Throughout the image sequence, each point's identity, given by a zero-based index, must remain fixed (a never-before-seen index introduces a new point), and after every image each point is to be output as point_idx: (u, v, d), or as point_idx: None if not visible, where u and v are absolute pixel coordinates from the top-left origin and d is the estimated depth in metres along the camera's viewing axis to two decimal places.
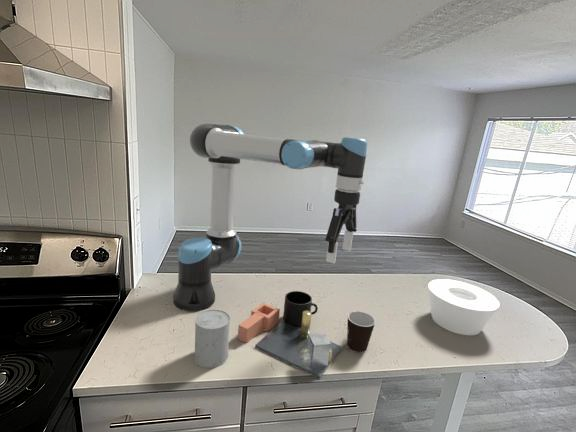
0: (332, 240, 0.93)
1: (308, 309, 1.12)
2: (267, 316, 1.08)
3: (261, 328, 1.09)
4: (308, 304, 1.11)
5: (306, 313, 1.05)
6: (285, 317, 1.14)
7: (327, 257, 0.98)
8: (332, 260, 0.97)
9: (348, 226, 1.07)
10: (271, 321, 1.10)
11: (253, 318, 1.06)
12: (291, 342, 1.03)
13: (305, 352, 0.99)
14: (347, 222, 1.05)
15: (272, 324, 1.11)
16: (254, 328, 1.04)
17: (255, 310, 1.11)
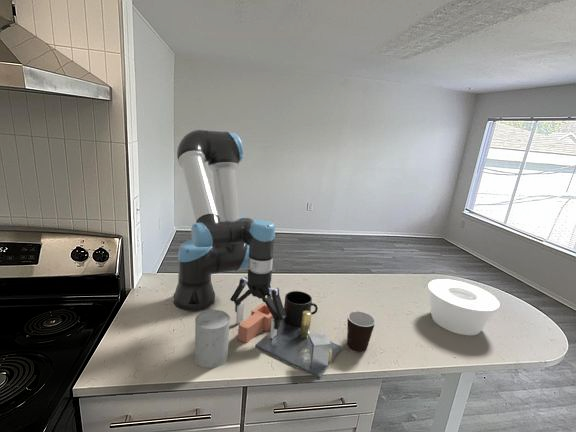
0: None
1: (308, 309, 1.12)
2: (267, 316, 1.08)
3: (261, 328, 1.09)
4: (308, 304, 1.11)
5: (306, 313, 1.05)
6: None
7: None
8: None
9: None
10: (271, 321, 1.10)
11: (253, 318, 1.06)
12: (291, 342, 1.03)
13: (305, 352, 0.99)
14: None
15: None
16: (254, 328, 1.04)
17: (255, 310, 1.11)
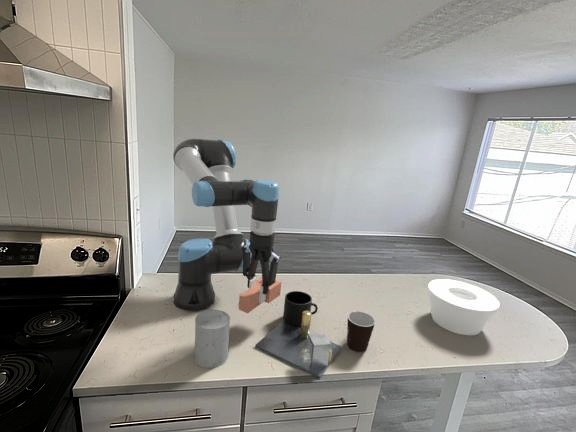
0: None
1: (308, 309, 1.12)
2: (269, 288, 1.06)
3: None
4: (308, 304, 1.11)
5: (306, 313, 1.05)
6: (285, 317, 1.14)
7: None
8: None
9: None
10: (272, 294, 1.07)
11: (254, 289, 1.04)
12: (291, 342, 1.03)
13: (305, 352, 0.99)
14: None
15: (273, 296, 1.09)
16: (255, 299, 1.02)
17: (256, 282, 1.09)
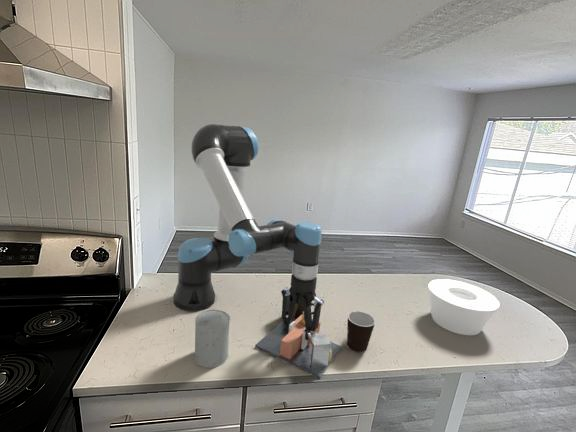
0: None
1: None
2: None
3: None
4: None
5: None
6: None
7: None
8: None
9: None
10: None
11: (294, 332, 1.00)
12: None
13: (305, 352, 0.99)
14: None
15: None
16: (297, 343, 0.98)
17: (295, 323, 1.04)
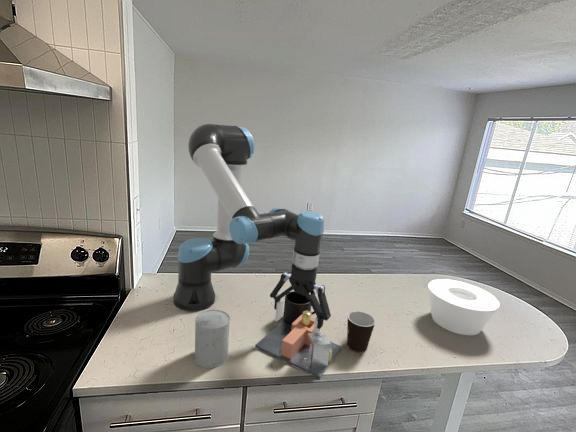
0: None
1: (308, 309, 1.12)
2: (310, 329, 1.02)
3: (304, 342, 1.02)
4: (308, 304, 1.11)
5: (306, 313, 1.05)
6: (285, 317, 1.14)
7: None
8: None
9: None
10: None
11: (295, 332, 1.00)
12: None
13: (305, 352, 0.99)
14: None
15: None
16: (298, 343, 0.98)
17: (295, 323, 1.05)
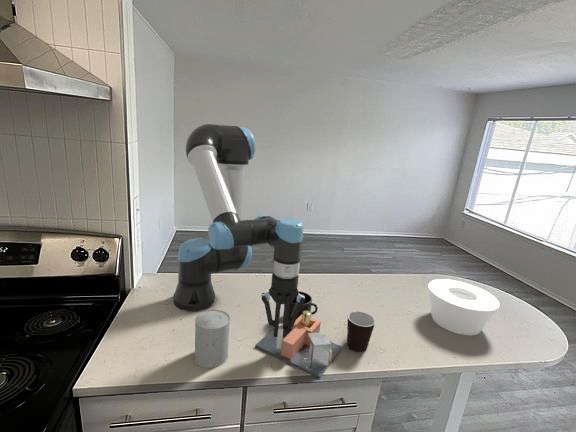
0: (269, 324, 0.95)
1: (308, 309, 1.12)
2: (310, 329, 1.02)
3: (304, 342, 1.02)
4: (308, 304, 1.11)
5: (306, 313, 1.05)
6: None
7: None
8: (276, 344, 0.97)
9: (283, 317, 0.96)
10: None
11: (295, 332, 1.00)
12: None
13: (305, 352, 0.99)
14: (284, 311, 0.96)
15: None
16: (298, 343, 0.98)
17: (296, 323, 1.05)
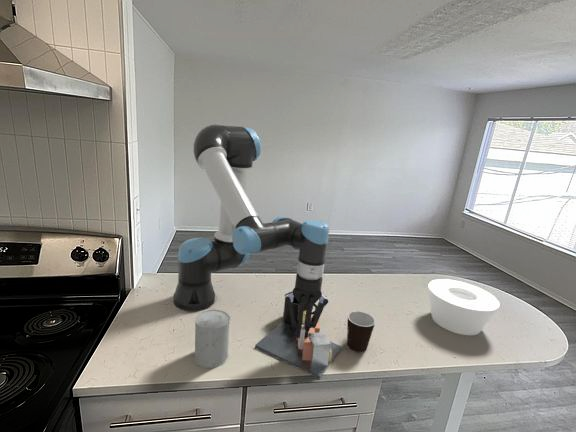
0: None
1: None
2: (317, 327, 1.04)
3: None
4: None
5: None
6: (285, 317, 1.14)
7: (298, 340, 0.99)
8: (298, 345, 0.98)
9: (305, 318, 0.97)
10: None
11: None
12: (291, 342, 1.03)
13: None
14: (306, 312, 0.96)
15: None
16: None
17: None
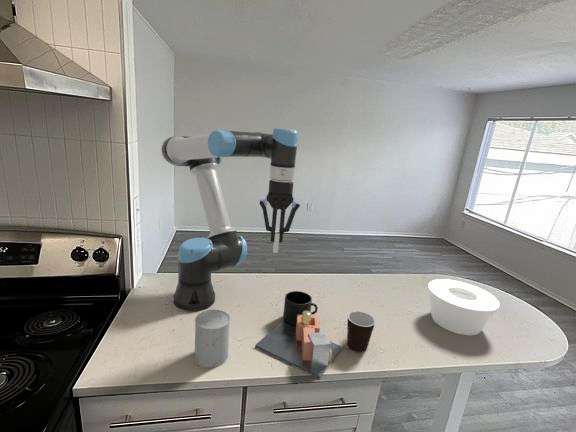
0: (266, 229, 1.04)
1: (308, 309, 1.12)
2: (317, 327, 1.04)
3: None
4: (308, 304, 1.11)
5: (306, 313, 1.05)
6: (285, 317, 1.14)
7: (273, 246, 1.08)
8: (273, 249, 1.06)
9: None
10: None
11: (307, 333, 1.00)
12: (291, 342, 1.03)
13: None
14: (280, 217, 1.05)
15: None
16: None
17: (300, 324, 1.04)
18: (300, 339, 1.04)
